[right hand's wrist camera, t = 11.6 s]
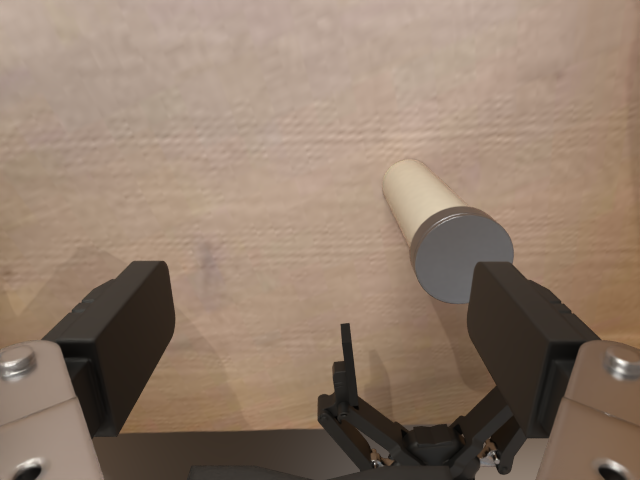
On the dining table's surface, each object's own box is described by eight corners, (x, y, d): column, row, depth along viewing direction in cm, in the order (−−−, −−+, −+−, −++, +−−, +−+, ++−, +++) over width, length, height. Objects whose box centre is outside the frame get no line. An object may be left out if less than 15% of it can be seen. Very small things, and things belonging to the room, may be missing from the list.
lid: (518, 258, 24) (531, 270, 22) (439, 305, 25) (446, 320, 24) (473, 187, 22) (483, 195, 21) (391, 241, 23) (396, 252, 22)
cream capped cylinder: (442, 189, 37) (518, 265, 23) (399, 218, 38) (446, 308, 24) (415, 148, 36) (478, 202, 21) (372, 179, 37) (404, 250, 22)
